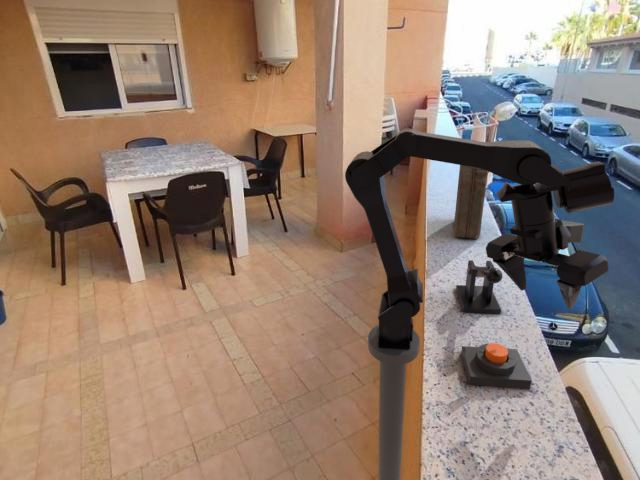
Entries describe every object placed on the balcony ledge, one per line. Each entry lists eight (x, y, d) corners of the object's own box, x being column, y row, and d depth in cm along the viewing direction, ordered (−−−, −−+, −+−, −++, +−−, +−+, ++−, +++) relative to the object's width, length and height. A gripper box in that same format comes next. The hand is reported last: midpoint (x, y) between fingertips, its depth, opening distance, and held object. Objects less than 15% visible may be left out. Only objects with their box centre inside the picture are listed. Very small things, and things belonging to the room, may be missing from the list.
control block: (469, 384, 66) (471, 369, 65) (461, 353, 73) (462, 339, 72) (529, 389, 65) (533, 373, 63) (515, 356, 72) (518, 342, 70)
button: (487, 363, 66) (488, 355, 66) (482, 349, 70) (483, 342, 69) (509, 364, 66) (510, 357, 65) (503, 350, 69) (504, 343, 68)
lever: (504, 284, 74) (504, 268, 74) (487, 283, 75) (487, 268, 75) (486, 278, 87) (486, 264, 87) (472, 277, 88) (472, 264, 88)
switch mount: (500, 313, 84) (507, 276, 80) (463, 312, 85) (467, 275, 81) (489, 290, 93) (494, 255, 89) (455, 289, 94) (459, 254, 90)
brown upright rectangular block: (454, 218, 137) (460, 150, 127) (478, 220, 134) (487, 150, 124) (453, 239, 121) (460, 163, 111) (481, 241, 118) (491, 163, 108)
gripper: (629, 206, 55) (634, 295, 60) (521, 194, 72) (532, 264, 77) (577, 237, 52) (587, 328, 57) (477, 217, 69) (491, 288, 74)
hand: (545, 297), depth 66 cm, fingers open, 9 cm apart
